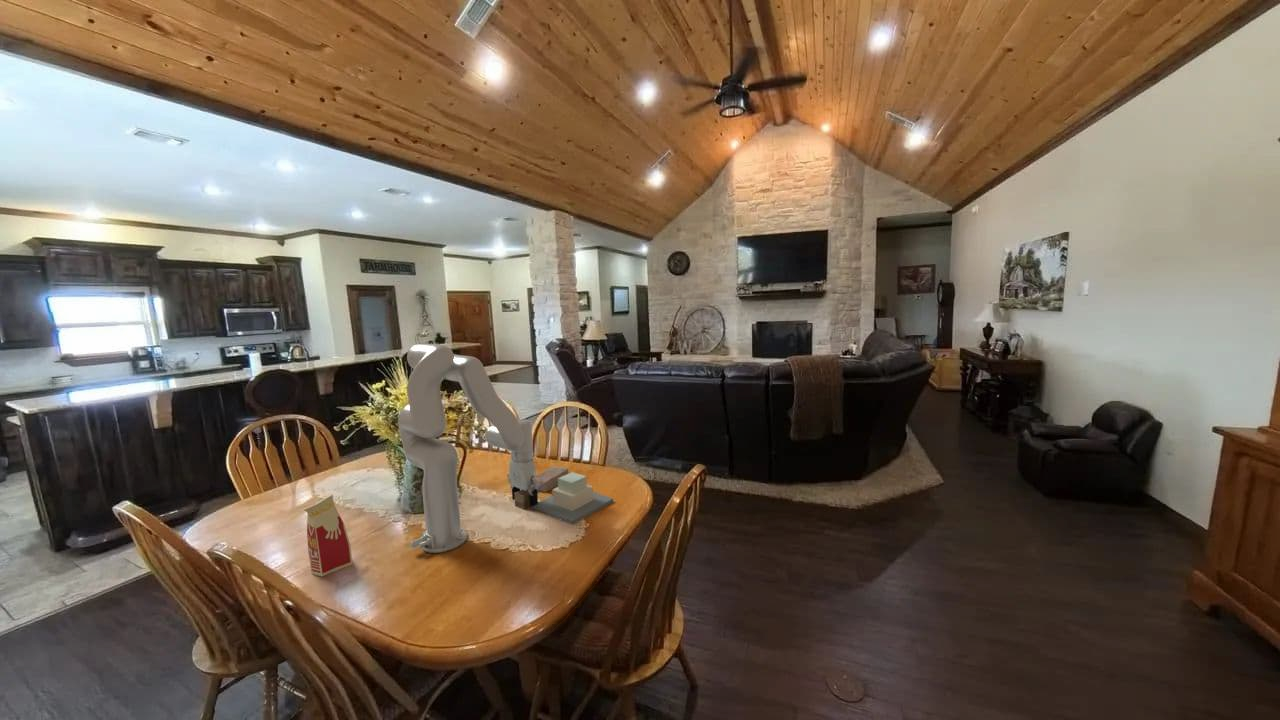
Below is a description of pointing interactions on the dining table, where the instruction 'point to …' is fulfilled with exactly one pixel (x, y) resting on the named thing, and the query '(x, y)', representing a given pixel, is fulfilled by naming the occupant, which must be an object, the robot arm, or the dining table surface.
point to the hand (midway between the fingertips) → (525, 501)
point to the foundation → (572, 504)
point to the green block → (572, 482)
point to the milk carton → (327, 538)
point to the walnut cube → (522, 499)
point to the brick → (550, 477)
